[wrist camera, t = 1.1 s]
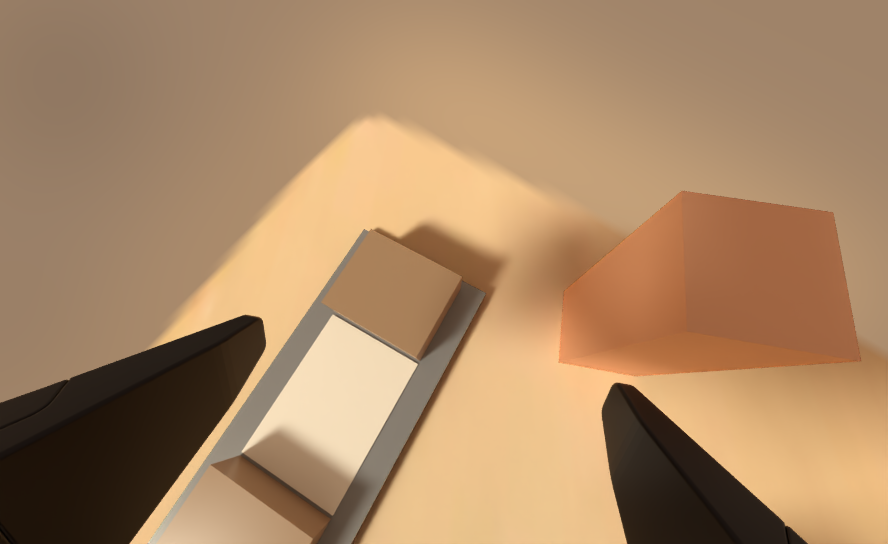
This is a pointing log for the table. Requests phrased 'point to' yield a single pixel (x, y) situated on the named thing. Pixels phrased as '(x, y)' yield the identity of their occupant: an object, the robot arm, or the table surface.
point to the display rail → (331, 406)
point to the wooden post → (714, 292)
